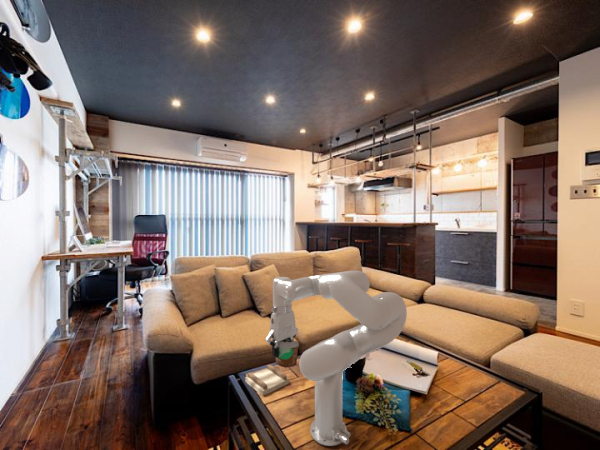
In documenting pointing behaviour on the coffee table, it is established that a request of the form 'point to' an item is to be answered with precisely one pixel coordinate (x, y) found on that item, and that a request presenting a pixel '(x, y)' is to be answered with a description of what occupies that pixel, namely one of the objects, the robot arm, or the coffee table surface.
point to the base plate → (267, 380)
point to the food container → (287, 353)
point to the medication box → (414, 365)
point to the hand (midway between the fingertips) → (282, 353)
